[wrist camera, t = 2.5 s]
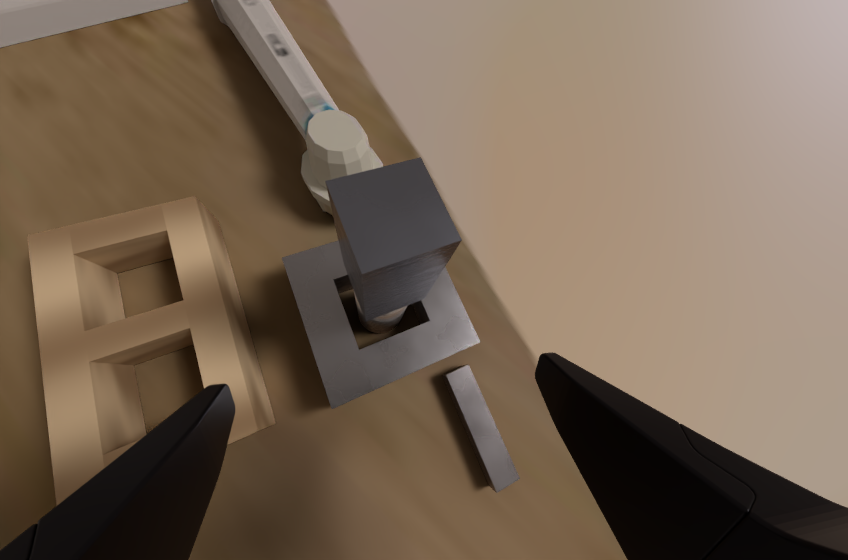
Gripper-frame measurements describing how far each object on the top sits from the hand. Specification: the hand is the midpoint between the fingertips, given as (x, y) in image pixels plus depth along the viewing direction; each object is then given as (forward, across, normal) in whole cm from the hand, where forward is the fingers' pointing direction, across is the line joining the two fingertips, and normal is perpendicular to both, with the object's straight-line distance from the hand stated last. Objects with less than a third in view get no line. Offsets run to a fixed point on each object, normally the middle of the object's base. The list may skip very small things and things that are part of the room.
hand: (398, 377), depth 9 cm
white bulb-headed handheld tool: (+24, +6, -8) cm, 26 cm away
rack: (+11, +12, +6) cm, 17 cm away
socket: (+11, 0, +5) cm, 12 cm away
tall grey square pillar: (+11, 0, +5) cm, 12 cm away
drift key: (+6, -6, +10) cm, 13 cm away
